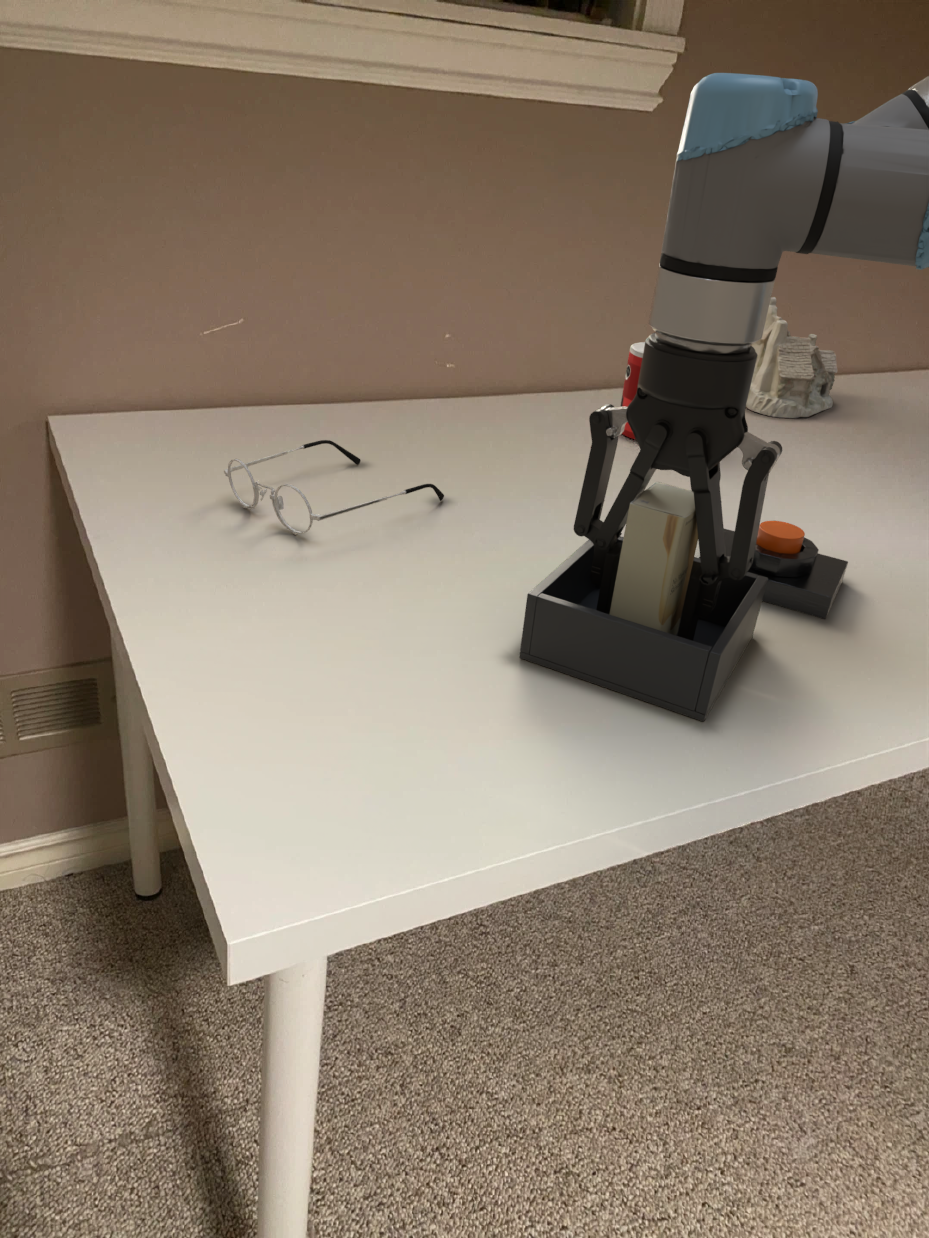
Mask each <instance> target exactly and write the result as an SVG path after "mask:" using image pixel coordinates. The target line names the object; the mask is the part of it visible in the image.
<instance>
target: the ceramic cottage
mask: <svg viewBox="0 0 929 1238" xmlns="http://www.w3.org/2000/svg"><path fill="white" fill-rule="evenodd" d="M776 305H777V298H776V297H775V296H773V297H772V296H771V300H770V304H769V309H768V313H767V317H766V322H765V326H764V331H763V335H762V338H761V339H760V340H759V341H757V342H755V343H754V344H751V346H752V347H754V349H755V352H756V353H757V355H758V356H757V360H756V365H755V369H754V373H753V378H752V382H751V386H750V391H749V395H748V399H747V404H746V408H747V409H748V410H750V411H751V412H755V413H758V414H761V415H764V416H768V417H774V418H786V419H798V418H809V417H811V416H813V415H816V414H818V413H821V412H822V411H827V410H829V409H832V408H833V405H834V404H833V402H834V400H833V398H832V396H831V395H830V391H832V390H833V387H834V383H835V379H836V377H835V376H836V374H837V373H838V362H837V354H836V352H835V351H834V350H831V349H830V350H829V349H826V350H825V349H820V346H819V345H816V344H817V339H818V335H817V334H814V333H810V334H808V335H807V337H800V336H795V335H794V336H791V331H790V330H789V329H788V328H789V327H788V326H789V324H788V321H786V320H785V319H783V317H782V316H778V307H777V306H776ZM746 408H745V409H746Z"/></svg>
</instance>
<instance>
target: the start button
mask: <svg viewBox="0 0 929 1238" xmlns="http://www.w3.org/2000/svg"><path fill="white" fill-rule="evenodd" d="M805 536H806V533H805V531H804V529H802V528H801V527H799V526H797V525H795V524H792V523H789V522H785V521H781V520H765V521H762V522H760V525H759V530H758V536H757V541H756V544H757V545H759V546H761V547H762V548H764V549H766V550H770V551H774V552H778V553H785V554H795V553H799V552H800V550H801V546H802V543H803V539H804V537H805Z"/></svg>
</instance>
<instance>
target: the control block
mask: <svg viewBox="0 0 929 1238" xmlns="http://www.w3.org/2000/svg"><path fill="white" fill-rule="evenodd" d="M734 533H735V530H731V529H727V528H724V538H725V549H726V557H730V556H731V550H732V544H733V539H734ZM698 558H700V556H699V557H698ZM848 564H849V561H848V560H844V559H840V558H836V557H832V556H830V555H825V554H822V553H819V548H818V546H817V545H816V544H815V543H814V542H813V541H812V540H811V539H808V538H806V537H805V536H804V539H803V543H802V546H801V550H800V552H799V553H795V554H785V553H778V552H774V551H770V550H766V549H764V548H762V547H761V546H759V545H757V544H756V547H755V552H754V558H753V563H752V565H751V567H750V568H749V570H748V571H747V572H750V573H753V574H757V575H758V576H759V575H760V576H763V577H767V578H768V581H767V585H766V588H765V592H764V596H763V599H762V602H763V603H767V604H771V605H774V606H776V607H777V606H778V607H781V608H785V609H789V610H791V611H795V612H798V613H801V614H806V615H808V616H812V617H816V618H819V619H821V620H826V619H827V617H828V615H829V612H830V610H831V608H832V605H833V604H834V601H835V599H836V597H837V594H838V592H839V590H840V588H841V585H842V583H843V580H844V577H845V574H846V571H847V568H848Z"/></svg>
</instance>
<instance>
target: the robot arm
mask: <svg viewBox="0 0 929 1238" xmlns="http://www.w3.org/2000/svg"><path fill="white" fill-rule="evenodd" d="M818 97H819V93H818V87H817V86H816V85H815V84H814V82H812V81H810V80H807V79H799V78H798V79H797V78H787V77H786V78H785V77H781V76H780V77H779V76H771V75H759V74H748V73H735V72H734V73H733V72H714V73H711V74H708V75H706V76H704V77H702V78H701V79H700V80H699V81H698V82H697V83H696V84H695V85H694V86H693V88H692V90H691V92H690V96H689V100H688V105H687V108H686V109H687V110H686V114H685V118H684V123H683V126H682V131H681V136H680V141H679V146H678V150H677V152H676V159H675V163H674V164H675V165H674V170H673V177H672V182H671V183H672V184H671V188H670V195H669V200H668V201H669V203H668V207H667V208H668V209H667V214H666V219H665V220H666V221H665V227H664V233H663V239H662V245H661V253H660V257H659V264H658V269H657V273H656V278H655V283H654V289H653V296H652V300H651V305H650V311H649V318H648V325H649V326H650V328H651V329H652V331H654V332H652V333H651V334H649V335H648V337H646V338H645V341H644V342H645V346H644V352H643V358H642V363H641V369H640V375H639V380H638V387H637V393H636V395H635V397H634V399H633V400H632V401H631V403H630V404H629V405H628V406H624V407H620V406H615V405H614V404H612V403H606V404H604V405H602V406H601V407H599V408H597V409H595V410H593V411H592V412H591V413H590V415H589V419H588V421H589V429H590V437H591V445H590V450H589V454H588V459H587V463H586V468H585V474H584V476H583V477H584V478H583V482H582V487H581V490H580V495H579V499H578V500H579V501H578V505H577V510H576V514H575V519H574V522H573V532H574V534H575V535H576V536H578V537H584V538H586V539H587V540H590V541H592V543H593V545H594V556H593V562H592V568H591V574H590V579H591V583H592V584H595V585H598V586H600V592H599V597H598V603H597V609H596V610H597V611H600V612H603V613H606V614H610V608H611V603H612V597H613V592H614V587H615V581H616V576H617V571H618V565H619V560H620V554H621V549H622V543H620V542H618V543H617V544H616V541H617V538H619V537H620V536H621V537H622V535H623V533H622V532H623V530H624V529H625V527H626V522H627V517H628V511H629V506H630V503H631V502H632V501H633V500H634V499H636V498H637V497H638V496H639V495H640V494H641V493H642V492H643V491H645V490H646V489H647V486H648V485H649V483H650V481H651V479H652V478H653V476H654V474H655V472H656V471H657V470H658V471H659V470H660V471H674V472H676V473H678V474H679V475H681V476H683V477H688V478H689V481H690V482H689V483H690V490H691V491H692V492H693V493H694V501H695V511H696V521H697V531H698V549H699V550H698V551H699V557H700V561H701V565H700V566H699V568H698V569H697V570H696V571H695V573H694V574H693V575H692V576H691V578H690V581H689V586H688V590H687V595H686V599H685V604H684V608H683V612H682V617H681V621H680V626H679V630H678V635H677V636H679V637H682V638H686V639H689V640H692V641H693V639H694V635H695V630H696V626H697V622H698V617H699V616H701V617H704V618H707V617H708V616H709V614H710V613H711V612H712V610H713V609H714V607H715V606H716V602H717V597H718V593H719V589H720V585H721V581H722V580H723V579H729V578H731V579H733V580H737V581H738V580H741V579H742V578H743V577H744V576H745V574H746V573H747V571H748V570H749V568H750V567H751V565H752V563H753V558H754V552H755V547H756V541H757V536H758V530H759V526H760V524H761V519H762V514H763V508H764V503H765V497H766V492H767V486H768V482H769V475H770V474H771V471H772V469H773V468H774V466H775V465H776V464H777V461H778V460H779V458H780V456H781V454H782V453H783V446H782V444H781V443H780V442H779V441H776V440H770V441H768V442H767V441H766V440H764V439H762V438H760V437H758V436H757V435H754V434H753V433H751V432H749V425H748V423H747V418H746V404H747V399H748V395H749V391H750V386H751V382H752V378H753V373H754V369H755V365H756V360H757V356H758V355H757V353H756V352H755V349H754V347H752V346H751V344H754V343H755V342H757V341H759V340H760V339H761V338H762V335H763V331H764V326H765V322H766V317H767V313H768V309H769V304H770V300H771V298H772V295H773V290H774V287H775V283H776V278H777V273H778V269H779V267H778V266H779V264H780V261H781V258H782V255H783V253H784V252H790V253H791V252H792V253H796V254H802V255H809V254H814V255H822V256H829V257H837V258H844V259H845V258H846V259H853V260H860V261H867V262H878V263H886V264H893V265H901V266H909V267H915V270H918V271H919V270H920V271H922V270H925V269H927V268H929V75H928V76H926V77H924V78H923V79H921V80H919V81H918V82H916V83H915V84H913V85H912V86H909V88H908V89H907V90H905V91H903V92H902V93H900V94H899V95H896V96H895V97H893V98H891V99H889V100H888V101H886V102H884V103H883V104H882V105H880V106H877V108H875V109H873V110H872V111H870V112H868V113H867V114H865V115H863V116H862V117H861V118H859V119H857V120H853V121H849V122H845V123H841V122H839V121H834V120H829V119H826V118H819V117H818V113H819V110H818V107H817V103H818ZM627 422H628V423H629V425H630V428H631V430H632V432H633V434H634V436H635V439H636V440H635V439H634V440H635V441H636V443H637V445H638V447H639V449H640V450H639V452H638V454H637V456H636V458H635V459H634V460H633V461H634V462H633V463H632V465H631V467H630V469H629V473H628V474H627V477H626V479H625V480H624V483H623V484H622V486H621V488H620V490H619V492H618V495H617V496H616V498H615V500H614V502H613V503H612V506H611V507H610V509H609V511H608V512H607V514H606V516H605V518H604V520H603V521H602V520H601V516H602V512H603V508H604V503H605V500H606V495H607V492H608V491H607V490H608V487H609V482H610V477H611V474H612V469H613V466H614V460H615V458H616V457H615V456H616V453H617V447H618V443H619V436H621V435H623V434H622V433H623V432H624V429H625V424H626V423H627ZM737 448H738V449H739V450H740V451H741V454H742V458H741V466H742V467H743V468H744V469H745V470H746V471H747V472H746V474H745V477H744V479H743V483H742V487H741V493H740V499H739V505H738V510H737V516H736V521H735V526H734V527H735V528H734V531H735V533H734V539H733V544H732V550H731V556H730V557H726V549H725V538H724V529H725V527H724V517H723V506H722V496H721V495H722V493H721V485H720V484H721V477H722V473H721V463H720V462H722V461H723V460H725V458H727V457H728V456H729V455H730V454H731V453H732V452H733V451H735V450H736V449H737Z"/></svg>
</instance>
